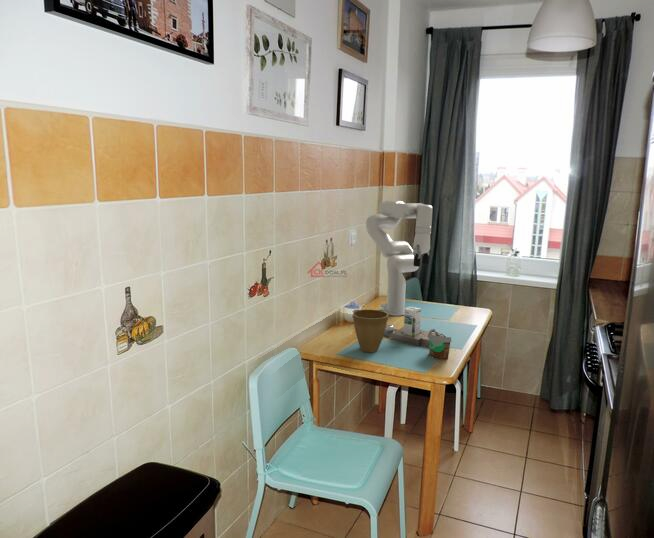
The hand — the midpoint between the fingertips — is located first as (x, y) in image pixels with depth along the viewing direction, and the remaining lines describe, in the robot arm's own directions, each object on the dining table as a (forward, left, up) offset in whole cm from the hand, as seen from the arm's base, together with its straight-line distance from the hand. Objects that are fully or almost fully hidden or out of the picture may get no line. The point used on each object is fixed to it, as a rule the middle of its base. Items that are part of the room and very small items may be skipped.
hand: (421, 264), depth 256 cm
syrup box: (+8, -24, -30) cm, 39 cm away
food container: (+26, -38, -30) cm, 55 cm away
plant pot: (0, -48, -30) cm, 57 cm away
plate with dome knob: (+4, -24, -30) cm, 39 cm away
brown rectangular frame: (+12, -24, -30) cm, 40 cm away
